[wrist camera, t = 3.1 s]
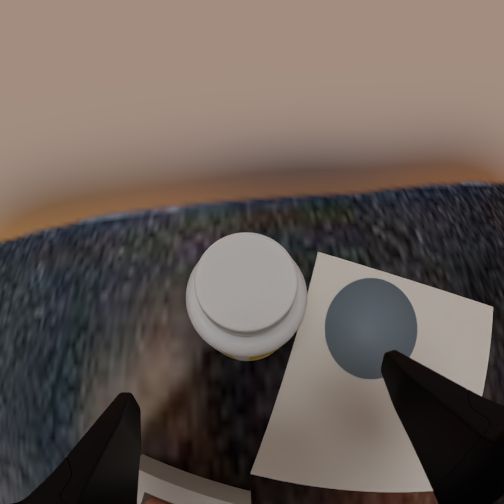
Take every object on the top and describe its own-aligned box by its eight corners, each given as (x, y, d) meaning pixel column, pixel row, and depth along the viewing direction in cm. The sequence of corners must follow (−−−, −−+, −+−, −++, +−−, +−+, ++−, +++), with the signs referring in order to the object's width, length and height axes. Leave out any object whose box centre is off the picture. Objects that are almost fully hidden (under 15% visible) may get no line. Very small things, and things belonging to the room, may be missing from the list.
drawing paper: (491, 307, 21) (493, 306, 21) (452, 488, 15) (454, 489, 15) (317, 252, 23) (318, 251, 23) (250, 472, 17) (250, 474, 16)
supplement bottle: (293, 291, 22) (327, 228, 12) (279, 368, 20) (307, 367, 10) (217, 276, 22) (195, 202, 13) (199, 351, 20) (156, 334, 11)
